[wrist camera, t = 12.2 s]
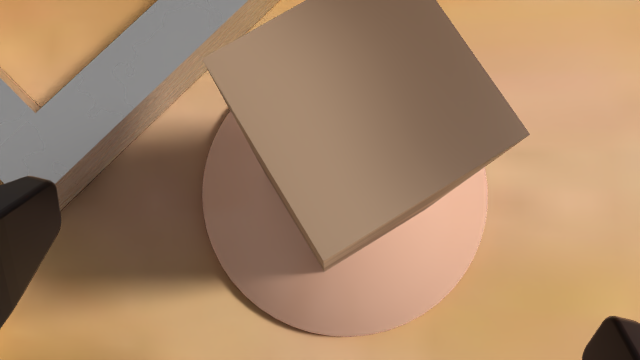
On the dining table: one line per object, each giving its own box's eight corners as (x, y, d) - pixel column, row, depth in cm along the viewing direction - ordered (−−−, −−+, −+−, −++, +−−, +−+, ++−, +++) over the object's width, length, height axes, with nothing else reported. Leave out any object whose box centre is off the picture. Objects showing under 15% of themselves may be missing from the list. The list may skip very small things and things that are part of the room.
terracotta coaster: (350, 400, 20) (351, 402, 20) (146, 195, 22) (143, 193, 21) (542, 185, 22) (546, 184, 21) (338, 7, 23) (338, 2, 23)
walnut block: (324, 271, 21) (323, 260, 10) (263, 171, 21) (201, 59, 11) (424, 209, 21) (529, 134, 10) (362, 113, 22) (399, -53, 11)
